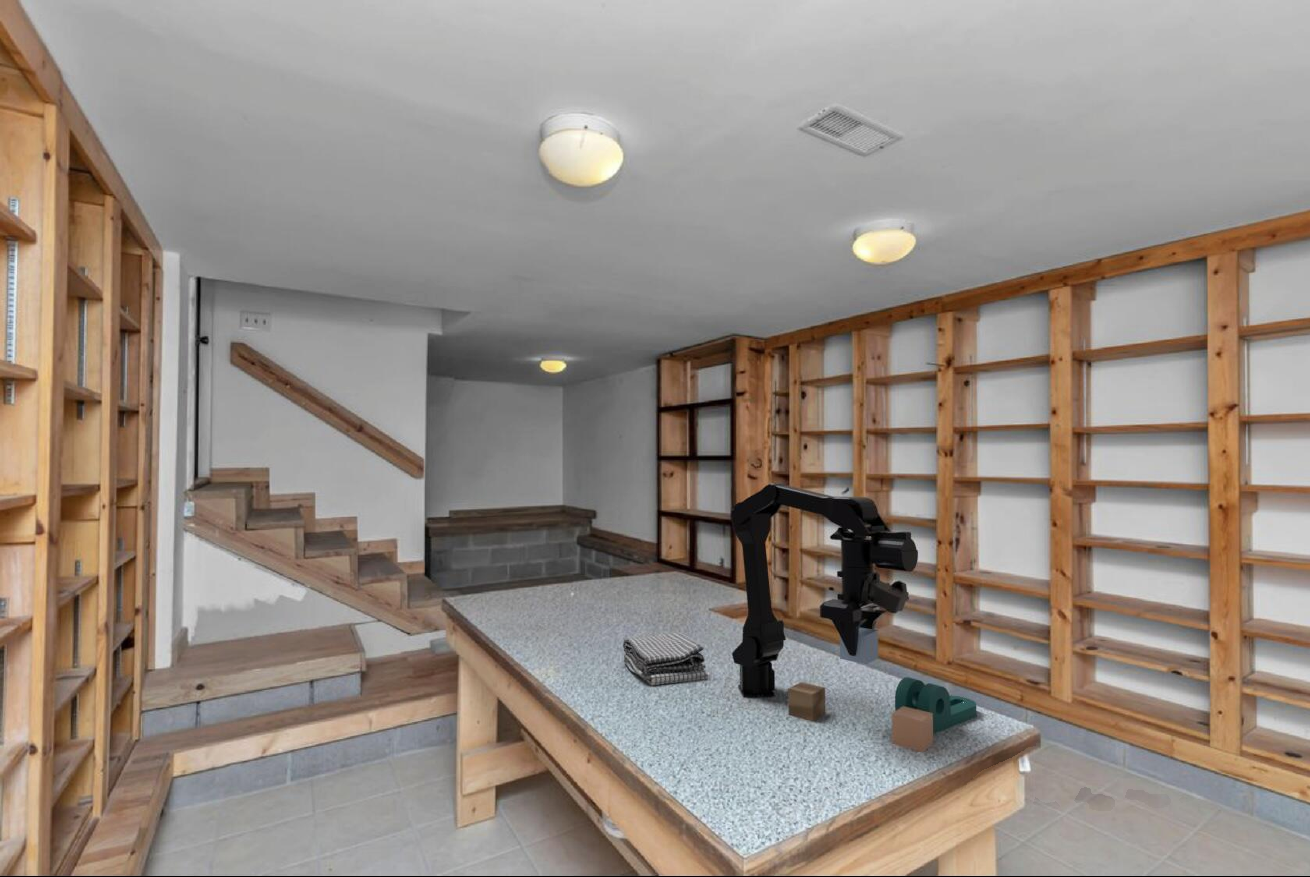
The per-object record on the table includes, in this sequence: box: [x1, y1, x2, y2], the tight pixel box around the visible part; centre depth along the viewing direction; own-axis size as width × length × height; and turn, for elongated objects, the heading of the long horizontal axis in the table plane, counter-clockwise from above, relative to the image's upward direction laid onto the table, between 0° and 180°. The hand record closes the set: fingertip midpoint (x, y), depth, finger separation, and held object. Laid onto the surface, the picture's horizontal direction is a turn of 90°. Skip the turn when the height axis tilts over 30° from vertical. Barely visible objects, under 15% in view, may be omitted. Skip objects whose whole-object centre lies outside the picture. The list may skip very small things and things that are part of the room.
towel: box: [622, 632, 709, 686], centre depth 148 cm, size 15×18×8 cm
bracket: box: [894, 676, 978, 735], centre depth 120 cm, size 18×7×8 cm, turn 125°
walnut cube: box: [787, 681, 826, 722], centre depth 122 cm, size 5×5×5 cm
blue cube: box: [839, 627, 879, 665], centre depth 117 cm, size 5×5×5 cm
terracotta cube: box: [891, 706, 934, 753], centre depth 108 cm, size 5×5×5 cm
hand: (858, 652), depth 117 cm, fingers closed on blue cube, 5 cm apart
